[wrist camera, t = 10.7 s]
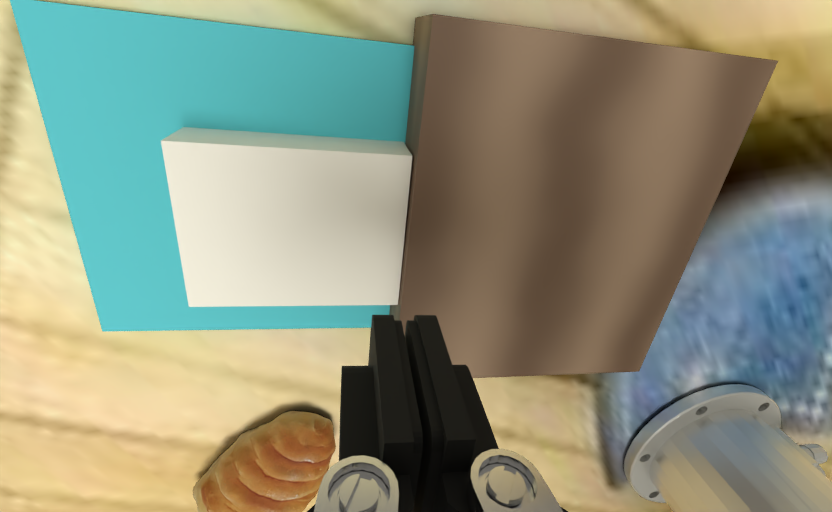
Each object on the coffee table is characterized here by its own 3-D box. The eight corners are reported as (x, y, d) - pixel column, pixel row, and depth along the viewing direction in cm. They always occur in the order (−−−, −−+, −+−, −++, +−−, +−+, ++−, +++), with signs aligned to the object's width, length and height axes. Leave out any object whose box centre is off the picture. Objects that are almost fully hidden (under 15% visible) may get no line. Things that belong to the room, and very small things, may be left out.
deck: (709, 56, 20) (778, 60, 17) (604, 333, 27) (638, 371, 24) (415, 17, 17) (433, 14, 14) (385, 337, 24) (393, 381, 21)
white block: (403, 141, 19) (412, 155, 17) (391, 277, 22) (397, 305, 20) (183, 127, 17) (160, 140, 15) (204, 277, 20) (188, 306, 18)
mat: (413, 45, 17) (414, 45, 17) (387, 323, 24) (387, 327, 23) (16, -2, 15) (9, -3, 14) (106, 326, 21) (102, 331, 21)
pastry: (268, 384, 25) (258, 439, 21) (363, 422, 27) (367, 476, 24) (191, 479, 27) (172, 541, 24) (285, 505, 30) (279, 564, 27)
